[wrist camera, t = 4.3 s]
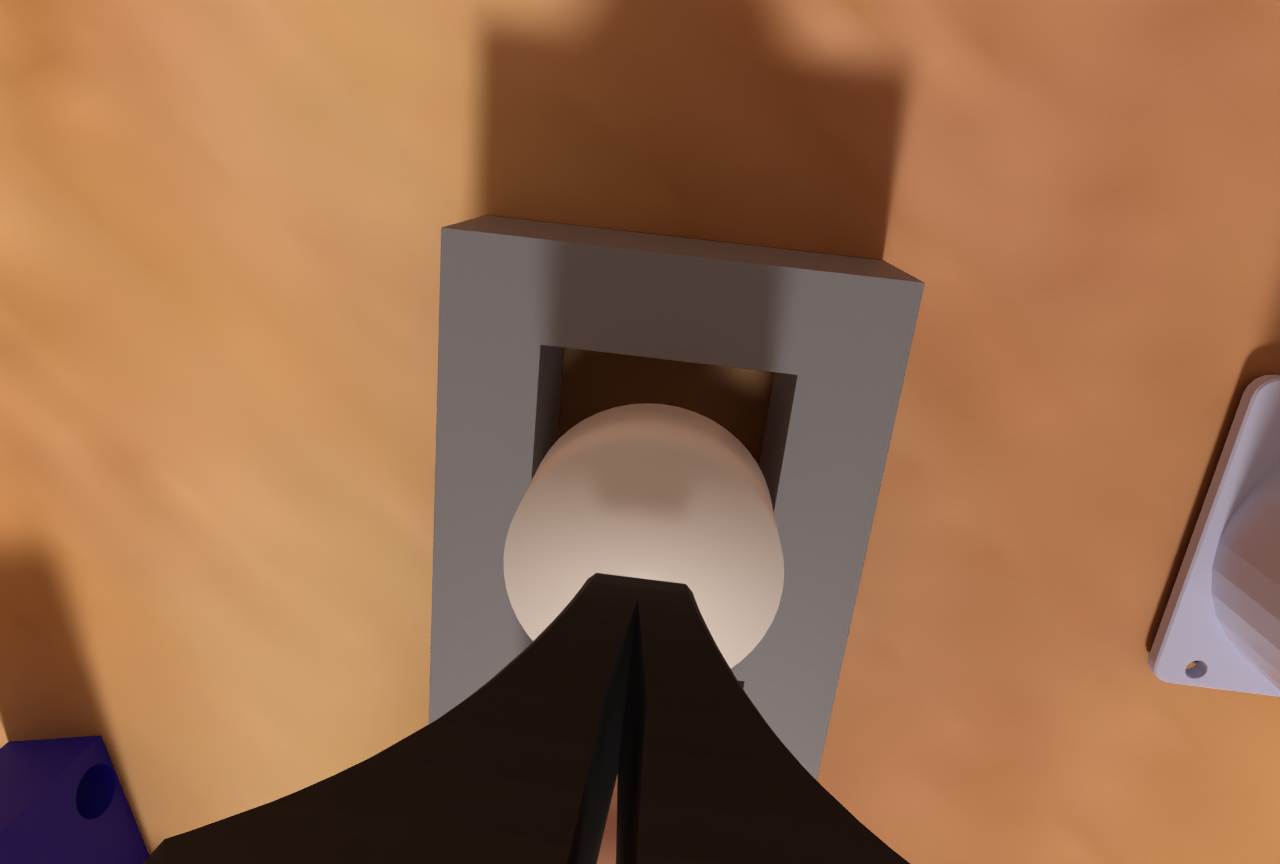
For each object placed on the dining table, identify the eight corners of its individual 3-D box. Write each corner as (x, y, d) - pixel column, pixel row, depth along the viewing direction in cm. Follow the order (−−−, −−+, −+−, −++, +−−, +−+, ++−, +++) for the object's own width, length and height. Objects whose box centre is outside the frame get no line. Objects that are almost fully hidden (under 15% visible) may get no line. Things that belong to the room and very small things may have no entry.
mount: (883, 259, 18) (924, 282, 15) (736, 995, 26) (742, 1119, 22) (486, 214, 19) (441, 227, 15) (455, 956, 26) (420, 1073, 23)
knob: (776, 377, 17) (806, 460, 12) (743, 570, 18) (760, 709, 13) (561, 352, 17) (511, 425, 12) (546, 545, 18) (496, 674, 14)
